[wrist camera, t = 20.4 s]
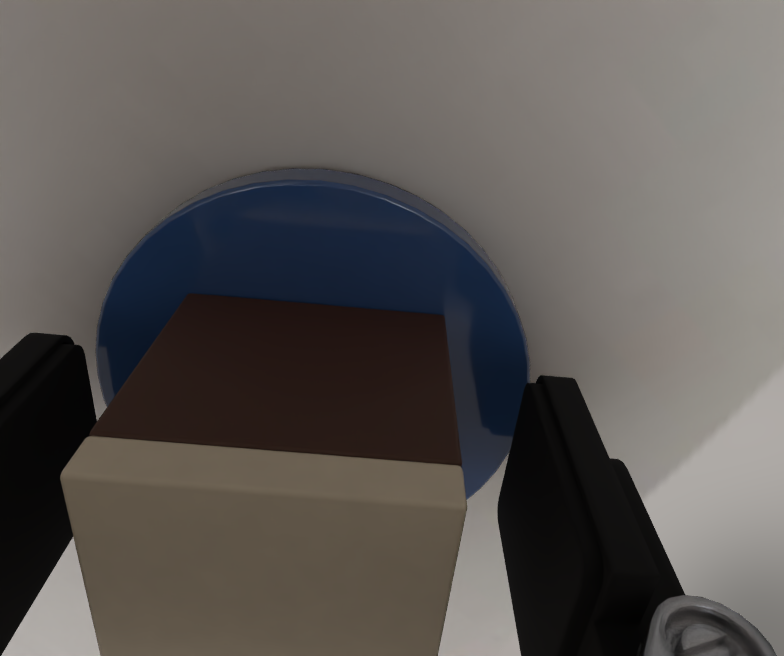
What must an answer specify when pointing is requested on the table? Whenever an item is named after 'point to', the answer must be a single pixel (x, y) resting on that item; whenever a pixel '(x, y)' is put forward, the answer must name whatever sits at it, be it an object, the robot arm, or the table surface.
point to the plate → (331, 283)
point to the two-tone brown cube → (274, 486)
